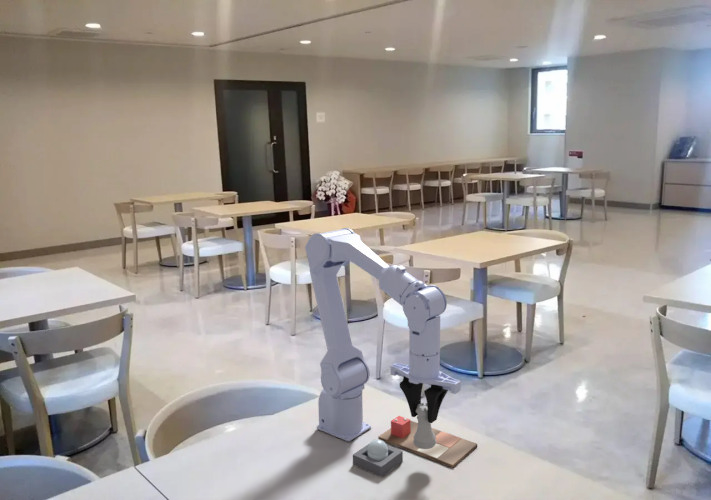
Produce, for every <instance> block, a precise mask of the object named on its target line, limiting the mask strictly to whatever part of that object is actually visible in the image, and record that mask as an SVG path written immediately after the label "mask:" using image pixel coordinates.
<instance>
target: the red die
mask: <svg viewBox="0 0 711 500" xmlns="http://www.w3.org/2000/svg"><path fill="white" fill-rule="evenodd" d="M411 421H412V420H411V419H410V418H406V417H404V416H401V415H397V416H396V417H395V418H393V419H392V420H390V428H391V434H392V435H395V436H398V437H401V438H404V437H405V436H406V435H408V434H409V433H411Z"/></svg>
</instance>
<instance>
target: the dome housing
mask: <svg viewBox="0 0 711 500" xmlns="http://www.w3.org/2000/svg"><path fill="white" fill-rule="evenodd" d="M370 443H371V442H369V443H368V444H367V445H365V446H363V447H362V448H361V449H359V450H358V451H356V452H355V453H353V454H352V466H355V467H357V468H360V469H361V470H363V471H366V472H369V473H370V474H373V475H374V476H377V477H379V478H383V477H384V476H385V475H387V474H389V472H391V471H392V470H394V468H396V467H398V465H400V464H401V463H403V462H404V461H403V460H404V459H403V454H404V453H403V450H400V449H398V448H395V447H393V446H391V445H388V444H386V445H387V447H388V457H386V458H385V459H384V460H382V461H381V462H379V461H377V460H374V459H372V458H370V457H368V446H369V444H370Z"/></svg>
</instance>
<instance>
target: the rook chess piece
mask: <svg viewBox="0 0 711 500" xmlns="http://www.w3.org/2000/svg"><path fill="white" fill-rule="evenodd" d="M415 411H416V413H417V414H418V415H417V416H416V419H417V423H418V426H417V430H416V433H415V434H414V437H413V438H414V441H413V442H414V444H415V446H416V447H418V448H420V449H430V448H432V447H434V446H435V444H436V440H435V439H436V436H435V434H434V433H433V431H432V428H433V427H432V423H429V422H428V407H427V402H425V404H424V402H421V405H420V404H418V406H417V408H416V410H415Z"/></svg>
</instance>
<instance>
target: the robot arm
mask: <svg viewBox="0 0 711 500" xmlns="http://www.w3.org/2000/svg"><path fill="white" fill-rule="evenodd" d="M304 248H305V252H306V257H307V262H308V266H309V274H310V275H309V276H310V280H311V283H312V287H313V292H314V297H315V301H316V306H317V309H318V310H317V311H318V315H319V319H320V324H321V327H322V331H323V336H324V339H325V344H326V350H327V351H326V353H325V355H323V358H322V359H321V361H320V362H319V365H320V369H321V371H320V372H321V375H320V383H321V387H322V390H321V392H320V394H319V397H318V403H317V405H318V425H317V426H316V429H317V430H318V431H322V432H323V433H327V434H328V435H332V436H333V437H337V438H338V439H342V440H344V441H345V442H351V441H352V440H354V439H355V438H357V437H359V436H361V435H362V434H363V433H366V431H368V430H369V429H371V428H372V425H371V424H369V423H366V422H363V417H364V416H363V390H365V384H367V383H368V382H369V380H370V368H369V365H368V363H367V362H366V360H365V358H364V355H363V352H362V350H361V349H359V348H357V347H356V346H354V345H353V343H352V342H353V341H352V338H351V333H350V329H349V324H348V322H347V321H348V320H347V317H346V312H345V308H344V304H343V300H342V294H341V289H340V285H339V281H338V276H337V275H338V273H339V271H340V269H341V268H342V266H343V265H344V264H346V263H347V262H350V263H352V264H354V265H356V266H357V267H359V268H360V269H361V270H362V271H364V272H366V273H367V274H369V275H370V276H372V277H373V278H375V279H377V281H378V287H379V289H380V290H381V291H383V293H385V294H386V295H388V296H389V297H391V298H392V300H394V301H395V302H396V303H398V304H399V305H400V306H401V307H402V311H403V314H404V315H405V317H406V319H407V327H408V329H409V333H408V334H409V335H408V336H409V338H408V339H409V341H408V343H409V344H408V347H409V350H408V351H409V357H408V360H409V361H408V364H404V363H400V362H395V363H393V364H391V365H390V375H391V376H394V377H395V376H399V377H402V378H403V379H402V381H400V382H399V388H400V390H401V392H403V395H404V396H405V399H406V401H407V404H408V408H409V412H410V414H411V417H412V418H415V417H416V418H417V416H418V414H417V413H416V411H415V410H416V408H417V406H418V404H420V405H421V403H422V391H423V386H424V384H426V385H430V387H428V388H426V389H425V390H424V391H423V392H424V396H425V400H426V403H427V407H428V422H429V423H431V424H432V423H434V422H436V421H437V420H438V416H439V411H440V408H441V405H442V403H443V400H444V398H445V397H446V395H447V393H448V391H450V394H454V395H456V394H458V393H459V392H460V391H461V390H462V389H461V386H462V384H461V383H462V382H461V380H460V379H456V378H453V377H452V376H450V375H448V374H447V373H444V372H443V371H441V368H440V366H441V365H440V363H441V360H440V359H441V357H440V356H441V315H442V314H444V313H445V311H446V309H447V305H448V302H447V297H446V295H445V293H444V292H443V290H441V288H440V287H439V286H438V285H433V284H431V285H428V284H426V283H425V282H424V281H422V280H419V279H418V278H416V277H414V276H413V275H412V274H411V273H410V272H408V271H406V270H407V269H406V267H405V266H404V265H397V264H393V265H389V264H388V263H386V262H385V261H384V260H383V259H382V258H381V257H379V255H377V254H376V253H375V252H374V251H373V250H372V249H370V248H369V247H368V246H367V245H366V244H365V243H363V241H362V238H361V235H359V234H357V233H356V232H355V231H353V230H352V229H351V228H349V227H344V228H341V229H336V230H332V231H331V230H330V231H327V232H326V231H325V232H321V233H320V232H316V233H313V234H312V235H311V236H310V237H309V239H308V240H307V242H306V245H305V246H304Z"/></svg>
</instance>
